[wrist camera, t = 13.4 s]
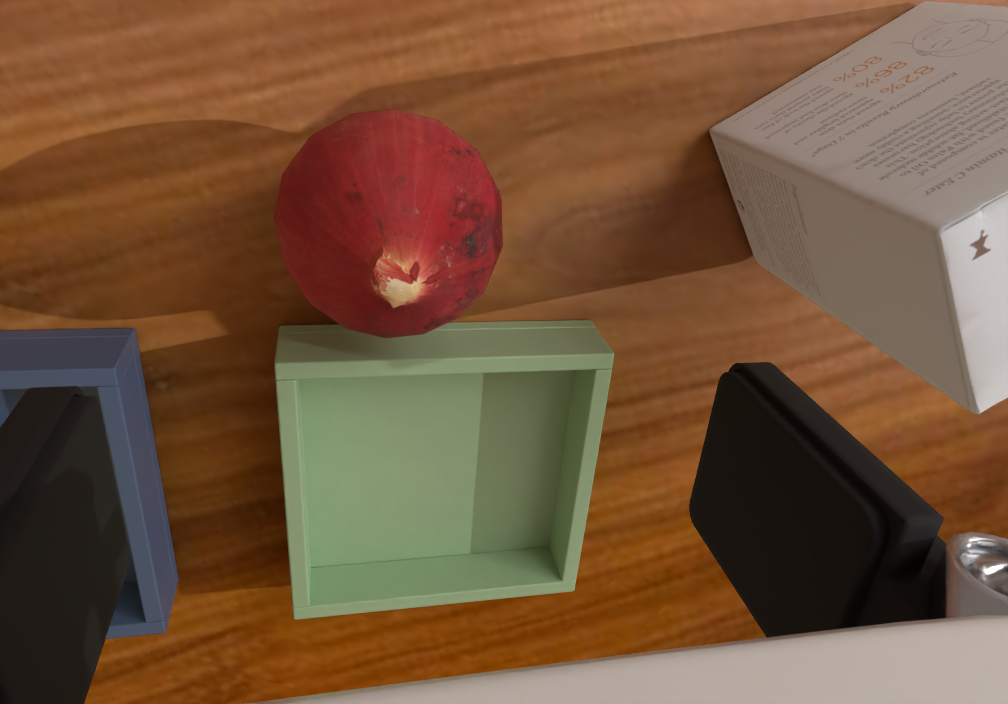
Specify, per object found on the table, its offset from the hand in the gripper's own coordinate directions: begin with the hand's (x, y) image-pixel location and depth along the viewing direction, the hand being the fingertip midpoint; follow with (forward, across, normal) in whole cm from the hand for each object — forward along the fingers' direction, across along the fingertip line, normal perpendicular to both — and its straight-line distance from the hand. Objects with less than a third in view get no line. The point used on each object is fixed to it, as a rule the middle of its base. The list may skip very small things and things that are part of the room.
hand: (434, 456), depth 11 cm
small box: (+13, -15, -3) cm, 20 cm away
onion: (+14, 0, -1) cm, 14 cm away
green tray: (+14, -2, +9) cm, 17 cm away
